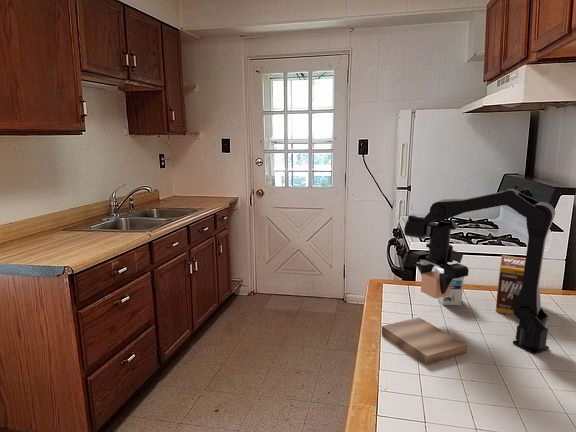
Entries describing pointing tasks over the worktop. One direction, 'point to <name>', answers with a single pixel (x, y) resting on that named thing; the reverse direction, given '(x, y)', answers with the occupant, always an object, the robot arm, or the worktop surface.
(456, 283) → the light bulb box
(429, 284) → the terracotta cube
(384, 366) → the worktop surface
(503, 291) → the supplement box
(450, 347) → the walnut block
